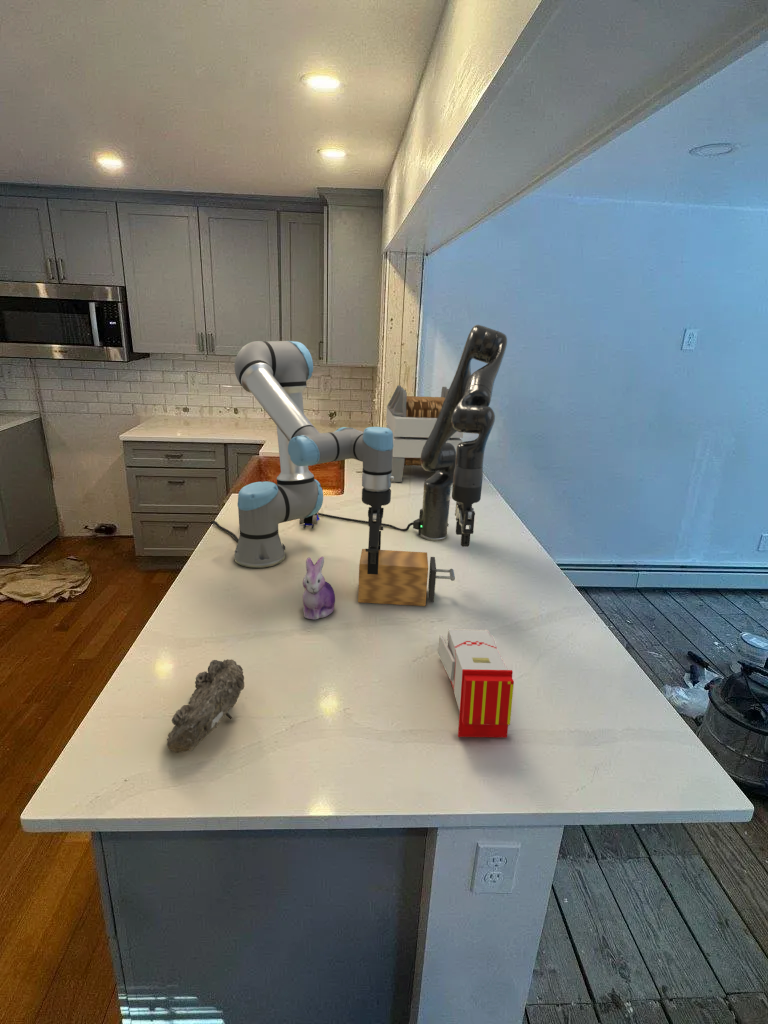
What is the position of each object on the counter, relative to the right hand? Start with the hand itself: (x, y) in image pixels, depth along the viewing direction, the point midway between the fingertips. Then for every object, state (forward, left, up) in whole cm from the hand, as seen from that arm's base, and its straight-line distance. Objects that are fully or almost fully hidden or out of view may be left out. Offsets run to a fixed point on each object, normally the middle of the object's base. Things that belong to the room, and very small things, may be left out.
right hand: (462, 540), depth 152 cm
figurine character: (-68, +14, -17) cm, 71 cm away
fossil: (-13, -73, -17) cm, 77 cm away
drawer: (-9, -8, -16) cm, 20 cm away
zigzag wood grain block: (-14, -11, -17) cm, 25 cm away
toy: (+22, -36, -17) cm, 45 cm away
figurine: (-24, -31, -17) cm, 43 cm away
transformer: (-75, +99, -17) cm, 125 cm away
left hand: (-18, -14, -7) cm, 25 cm away
